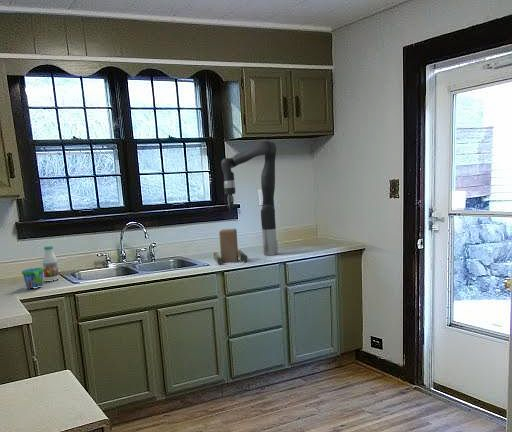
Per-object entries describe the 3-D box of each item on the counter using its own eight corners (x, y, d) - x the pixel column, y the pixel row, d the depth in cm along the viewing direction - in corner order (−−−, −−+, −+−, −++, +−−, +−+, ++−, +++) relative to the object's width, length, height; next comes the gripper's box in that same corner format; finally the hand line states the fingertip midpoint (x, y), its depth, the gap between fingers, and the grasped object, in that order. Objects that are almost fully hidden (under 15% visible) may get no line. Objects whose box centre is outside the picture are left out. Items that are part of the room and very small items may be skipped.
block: (236, 262, 291) (234, 230, 289) (221, 262, 292) (218, 231, 290) (238, 259, 301) (236, 228, 299) (223, 259, 302) (221, 229, 300)
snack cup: (21, 287, 254) (19, 269, 253) (42, 284, 260) (40, 266, 259) (26, 292, 241) (24, 273, 240) (48, 288, 247) (46, 269, 246)
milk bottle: (42, 281, 268) (38, 247, 266) (55, 278, 273) (51, 245, 272) (48, 282, 263) (44, 247, 261) (61, 279, 268) (58, 245, 267)
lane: (240, 255, 312) (240, 250, 312) (247, 262, 287) (247, 256, 287) (214, 258, 309) (213, 252, 309) (218, 265, 284) (218, 258, 283)
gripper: (236, 186, 315) (238, 212, 316) (233, 186, 328) (235, 211, 329) (225, 187, 314) (227, 213, 315) (223, 187, 326) (224, 211, 328)
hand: (231, 212), depth 322 cm, fingers closed
